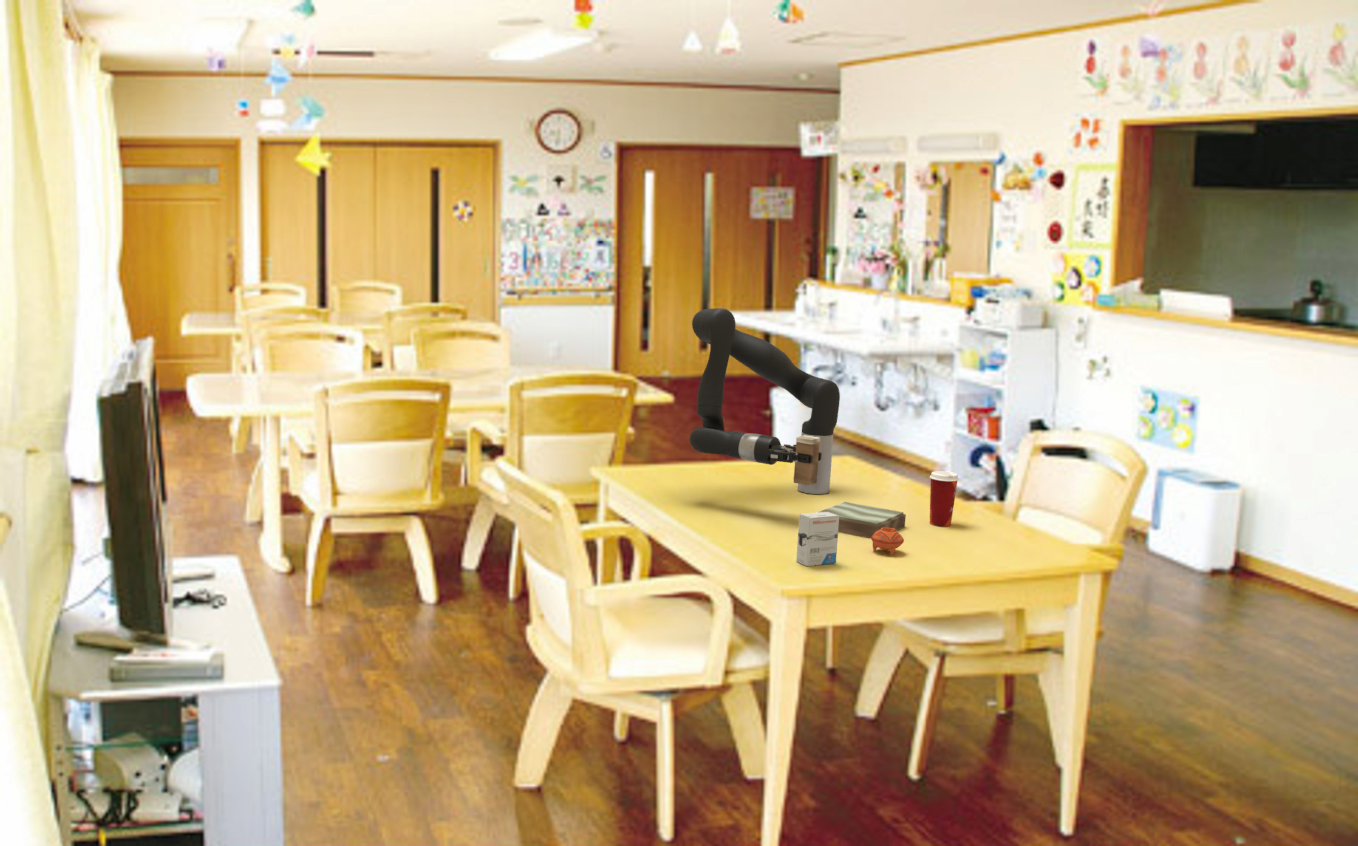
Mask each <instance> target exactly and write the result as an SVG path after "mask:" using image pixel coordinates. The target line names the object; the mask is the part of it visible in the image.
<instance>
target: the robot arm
mask: <svg viewBox="0 0 1358 846" xmlns="http://www.w3.org/2000/svg"><path fill="white" fill-rule="evenodd" d="M691 325H692V326H691V327H692V330H693V333H694V334H695V336H696V337H697V338H698V340H700V341H703V342H704V343H707V344H708V345H710V347H709V356H708V359H707V363H706V366H705V369H704V371H703V373H702V375H701V378H700V379H699V380H700V381H699V383H698V388H697V399H696V414H697V416H698V417H700V418H701V422H702V426H700V427H696V428H695V429H694V430H692V432H690V434H689V443H690V446H691V447H692V449H694V450H695V451H696V452H697V453H702V454H710V455H711V454H712V455H722V456H727V457H731V458H736V459H742V460H746V461H748V462H752V463H753V462H754V463H759V464H765V465H770V466H771V465H772V466H773V465H775V464H776V463H777V462H781V463H790V464H792V463H795V462H798V461H799V462H803V463H809V464H810V463H812V461H813V456H812V455H808V454H802V453H798V452H796V444H793V445H790V444H781V441H780V439H779V438H778V437H776V436H771V435H765V434H759V433H747V432H743V431H726V430H725V424H724V417H723V413H722V412H723V403H724V402H723V401H724V389H725V381H726V379H725V378H726V373H727V370H728V369H727V368H728V363H729V359H730V357H732V359H733V358H734V359H735V360H737V362H739V363H741V364H742V365H743V366H746V367H747V368H748V369H749V370H750V371H752V372H754V373H755V374H757V375H758V376H760V377H762V378H763V379H765V380H767V381H769V383H772V384H774V385H776V386H778V387H780V388H782V389H784V390H785V391H787V392H788V393H789V394H790V395H791V396H792V397H794V398H795V399H797V400H798V402H800V403H801V404H803V406H805V407H806V408H809V409H811V413H810V418H809V419H808V420H805V421H803V423H802V425H801V436H804V435H806V436H812V437H819V438H820V443H819V456H818V470H817V483H814V484H811V485H804V484H798V483H797V490H798V491H799V492H802V493H805V494H813V495H824V494H825V495H826V494H828V493H830V487H831V475H832V474H831V471H832V460H833V459H832V458H833V457H832V456H833V446H834V445H833V443H834V431H835V428H836V425H837V423H838V419H839V418H838V417H839V411H840V410H839V408H840V399H841V393H840V388H839V386H838V385H837V384H836V382H834V381H832V380H831V379H827V378H826V379H825V378H822V377H817V376H814V375H812V374H810V373H807V372H806V371H804V370H802V369H800V368H798V367H797V366H796V365H795V364H794V362H793V361H792V360H791V358H790V357H789V355H787V354H786V353H785V352H784V351H782V350H781V349H779V347H777V346H776V345H773V344H772V343H771V342H768V341H767V340H766V339H762V338H760V337H758V336H754V335H751V334H748V333H746V332H743V331H741V330H739V329H736V320H735V315H734V314H733V313H732V312H731V310H729V309H727V308H723V307H722V308H721V307H720V308H705V309H704V308H703V309H702V310H700V311H697V312H696V313H695V314H694V316H693V317H692V321H691Z"/></svg>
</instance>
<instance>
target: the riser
mask: <svg viewBox="0 0 1358 846" xmlns="http://www.w3.org/2000/svg"><path fill="white" fill-rule="evenodd" d="M819 512H830V513H832V514H835V515H838V516H839V527H838V533H842V534H847V535H851V534H852V536H858V537H861V538H868V539H871V537H872V535H873V534H874V533H875V532H877V531H878V530H881V528H883V527H886V528H894V529H896V530H897V531H899V530H901V529H903V528H906V517H907V515H906V513H904V512H903V511H898V510H893V509H889V508H882V507H876V506H871V505H865V504H859V503H855V502H848V501H843V502H841V503H838V504H836V505H833V506H830V507H828V508H825V509H823V510H820V511H817V512H816V513H819Z"/></svg>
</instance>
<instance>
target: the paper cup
mask: <svg viewBox="0 0 1358 846" xmlns="http://www.w3.org/2000/svg"><path fill="white" fill-rule="evenodd" d="M929 479H930V489H929V490H930V493H929V494H930V496H929V497H930V499H929V524H930V525H931V526H936V527H942V528H943V527H947V528H948V527H950V526H951V525H952V524H951V523H952V520H953V514H954V506H955V499H956V494H957V493H956V492H957V485H958V481H959V479H960V478H958V474H957V473H955V472H953V471H946V470H933V471H932V472H931V475H929Z"/></svg>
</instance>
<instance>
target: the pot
mask: <svg viewBox="0 0 1358 846" xmlns="http://www.w3.org/2000/svg"><path fill="white" fill-rule="evenodd" d="M870 540H871V542H872V549H873V551H874V552H876V550H877V548H879V549H880V550H883V551H889V553H890V556H893V555H894V553H895V551H896V549H898V548H900V547H901V546H902V545H903V544H904V542H905V539H904V537H903V536H902V535H901V533H899V531H898V530H897V531H896V529H894V528H886V527H883V528H881V530H878V531H877V532H875V533H874V534H873V535H872V537H871V538H870Z"/></svg>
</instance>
